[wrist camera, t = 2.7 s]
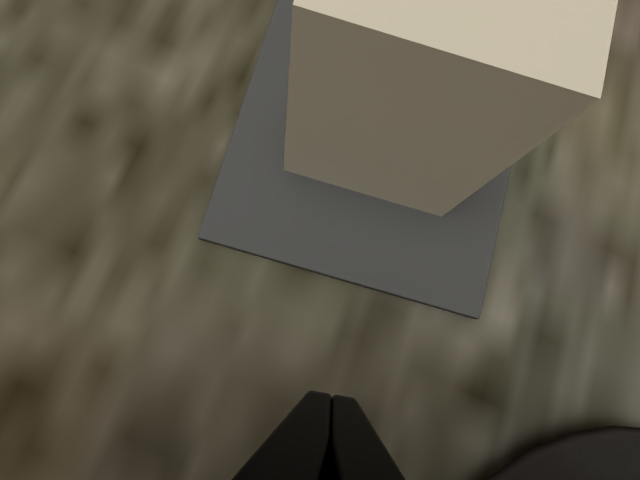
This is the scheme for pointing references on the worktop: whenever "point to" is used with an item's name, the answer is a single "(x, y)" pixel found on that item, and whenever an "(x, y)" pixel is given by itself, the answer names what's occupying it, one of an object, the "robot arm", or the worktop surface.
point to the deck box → (436, 90)
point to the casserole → (580, 457)
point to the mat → (342, 209)
